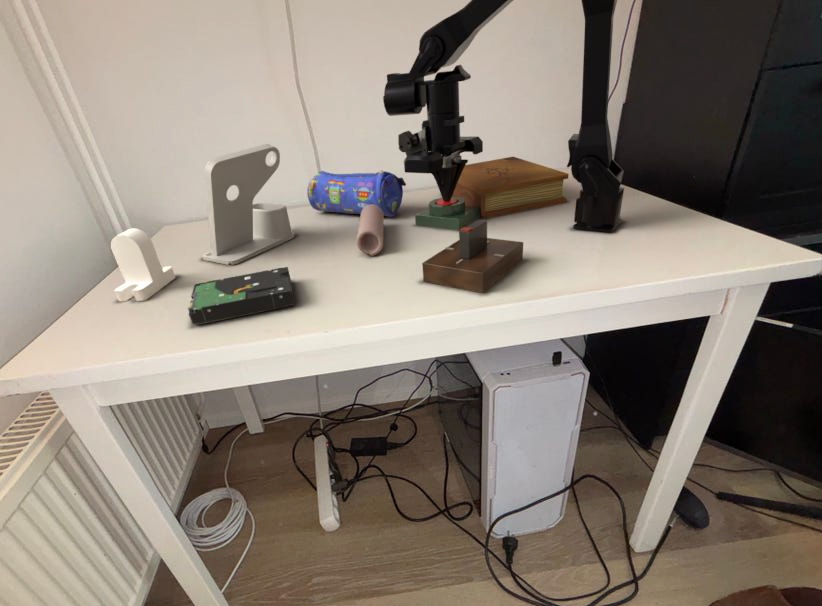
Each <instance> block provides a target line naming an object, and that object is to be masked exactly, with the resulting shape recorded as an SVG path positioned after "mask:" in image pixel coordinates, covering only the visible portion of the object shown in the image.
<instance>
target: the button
mask: <svg viewBox="0 0 822 606" xmlns="http://www.w3.org/2000/svg"><path fill="white" fill-rule="evenodd" d="M455 203H457V200H456V199H453V198H451V200H450V201H448V202H445V201H443V199H441V200H438V201H437V205H451V204H455Z"/></svg>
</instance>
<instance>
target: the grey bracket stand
mask: <svg viewBox="0 0 822 606" xmlns="http://www.w3.org/2000/svg"><path fill="white" fill-rule="evenodd" d="M269 153H271V158H270V160H269V162H268V163H267V162H266V161H267V160H266V159H267V156H268V155H269ZM280 154H281V153H280V150H279V149H278V148H277V147H275V146H274V145H271V144H269V143H265V144H261V145H257V146H253V147H250V148H245V149H242V150H238V151H234V152H231V153H227V154H223V155H220V156H217V157H213V158H210V159H209V160H208V162H207V163H206V164H205V167H204V182H205V192H206V193H205V194H206V207H207V218H208V230H209V242H210V251H207V252H205V253H203V254H202V255H201V256H202V260H204V261H207V262H212V263H216V264H222V265H229V266H230V265H232V266H233V265H238V264H240V263H242V262H244V261H246V260H249V259H251V258H254V257H255V256H258V255H259V254H262V253H264V252H266V251H268V250H270V249H272V248H275V247H277V246H279V245H282V244H283V243H286V242H287V241H290V240H291V239H294V238H295V232H293V231H292V227H291V221H290V218H289V214H288V213H289V212H288V209H287V205H285V204H279V203H268V202H259V203H254V199H255V197H256V196H257V195H258V194H259V192H260V191H261V190H262V188H264V186H265V185H266V184H267V182H268V181H269V180H270V179H271V177H272V176H273V175H274V174H275V173H276V171H277V170H278V168H279V166H280V162H281V159H280V157H281V155H280ZM232 186H235V187H236V188H237V190H238V191H237V193H236V194H235V197H234V198H233V199H228V197H227V193H228V190H229V189H230V188H231V187H232Z"/></svg>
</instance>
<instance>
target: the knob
mask: <svg viewBox="0 0 822 606" xmlns="http://www.w3.org/2000/svg"><path fill="white" fill-rule="evenodd" d="M487 238H488V220H484V219H478V220H476V221H474V222H473V223H471V224H469V225H468V226H466V227H463V228H462V229H461V230H459V231H458V240H459V245H460V258H466V259H470V258H471V257H473V256H474V255H476V254H477V253H479V252H480V251H481V250H483V249H484V248H486V247H487Z"/></svg>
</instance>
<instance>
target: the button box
mask: <svg viewBox="0 0 822 606" xmlns="http://www.w3.org/2000/svg"><path fill="white" fill-rule="evenodd" d="M452 198H453V199H456V200H457V203H455V204H451V205H437V201H438V200H441V199H443V198H442V197H439V198H435V199H433V200H431V201H429V202H428V207H427V208H425V209H424V210H422V211H420V212H418V213H416V214H414V219H415V221H414V222H415V226H417V227H426V228H433V229H442V230H451V231H458V232H459V231H460V230H461V229H462V228H463V227H467V226H468V225H470V224H472V223H473V222H475V221H477V220H480V218H481V216H480V207H470V206H465V199H463V198H460V197H452Z"/></svg>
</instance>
